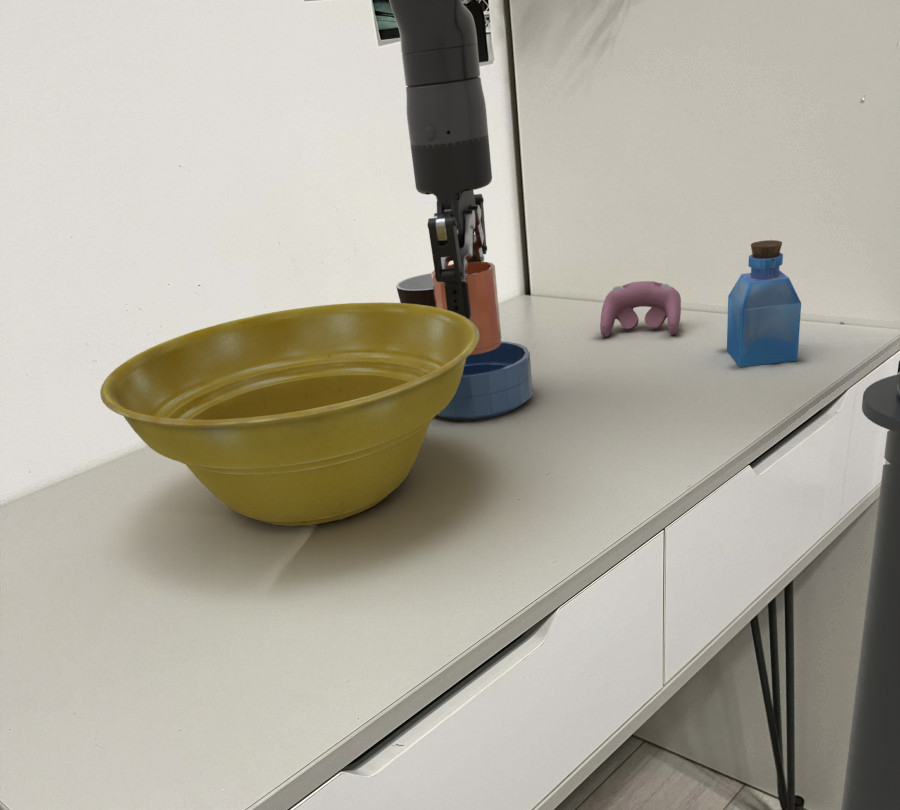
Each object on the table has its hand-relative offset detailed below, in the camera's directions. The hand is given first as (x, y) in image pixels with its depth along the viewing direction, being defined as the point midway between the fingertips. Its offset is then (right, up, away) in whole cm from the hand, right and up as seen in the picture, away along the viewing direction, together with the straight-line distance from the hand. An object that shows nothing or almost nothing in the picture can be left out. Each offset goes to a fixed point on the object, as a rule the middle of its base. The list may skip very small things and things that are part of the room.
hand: (467, 310), depth 99 cm
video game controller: (+22, +3, +21) cm, 31 cm away
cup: (0, -3, +2) cm, 4 cm away
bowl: (+1, -9, +5) cm, 10 cm away
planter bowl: (-14, -21, -11) cm, 27 cm away
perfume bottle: (+33, -3, +7) cm, 34 cm away
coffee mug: (-4, -1, +19) cm, 20 cm away
